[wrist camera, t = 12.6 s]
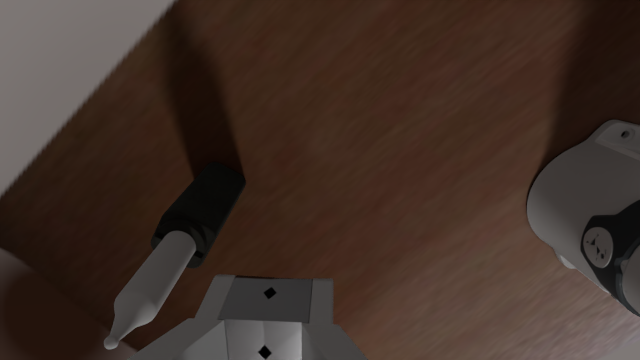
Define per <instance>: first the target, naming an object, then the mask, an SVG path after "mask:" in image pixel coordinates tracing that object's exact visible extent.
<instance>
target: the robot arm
mask: <svg viewBox="0 0 640 360" xmlns="http://www.w3.org/2000/svg"><path fill="white" fill-rule="evenodd" d="M624 131H625V134H624V135H623V136H621V134H622V133H623V132H624ZM527 216H528V220H529V223H530V226H531V228H532V229H533V231H534V232H535V234H536V235H537V236H538V237H539V238H540V239H541V240H543V241H544V242H546V243H547V244H548V245H550V246H551V247H552V248H553V249H554V251H555V253H556V255H557V257H558V259H559V260H560V262H561V263H562V264H564V265H565V266H566V267H568V268H577V269H578V270H579V271H580V272H581V273H583V274H584V275H585V276H586V277H588V278H589V279H590V280H591V281H593V282H594V283H595V284H596V285H598V286H599V287H600V288H601V289H603V290H604V291H605V292H607V293H610V294H611V296H612V297H613V298H614V299H615V300H616V301H617V302H619V303H620V304H621V305H623V306H625V307H626V308H627V309H628V310H629V311H631V312H632V313H634V314H635V315H637V316H639V317H640V125H637V124H633V123H629V122H624V121H620V120H609V121H607V122H605V123H604V124H603V125H601V126H600V127H599V128H598V129H597V130H596V131H595V132H594V133H593V134H592V135H591V136H590V137H589V138H588V139H587V140H585V141H584V142H582V143H580V144H579V145H577V146H575V147H573V148H571V149H569V150H567V151H565V152H563V153H562V154H560V155H559V156H558V157H556V158H555V159H554V160H552V161H551V162H550V163H549V164H548V165H547V166H546V167H545V168H544V169H543V170H542V172H541V173H540V174H539V176H538V177H537V179H536V180H535V182H534V184H533V186H532V188H531V190H530V193H529V196H528V201H527ZM127 360H368V359H367V358H366V357H365V355H364V354H363V353H362V352H361V351H360V349H359V348H358V347H357V346H356V345H355V344H354V342H353V341H352V340H351V339H350V338H349V336H348V335H347V334H346V333H345V332H344V330H343V329H342V328H341V327H340V326H339V325H333V279H317V278H313V279H294V278H274V277H258V276H242V275H237V276H236V275H220V274H218V275H216V276H215V277H214V279H213V281H212V283H211V285H210V287H209V289H208V291H207V293H206V295H205V297H204V299H203V301H202V303H201V306H200V308H199V310H198V312H197V314H196V316H195V318H194V319H187V320H185V321H184V322H182V323H181V324H179V325H178V326H176V327H175V328H173V329H172V330H170V331H169V332H167V333H166V334H164V335H163V336H161V337H160V338H158V339H157V340H155V341H154V342H152V343H151V344H149V345H148V346H146V347H145V348H143V349H142V350H140V351H139V352H137V353H136V354H134V355H133V356H131V357H130V358H128V359H127Z"/></svg>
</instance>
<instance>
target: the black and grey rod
mask: <svg viewBox="0 0 640 360" xmlns="http://www.w3.org/2000/svg"><path fill="white" fill-rule="evenodd" d="M245 184H246V182H245V179H244V177H243V176H242V175H240V174H239V173H237V172H235V171H233V170H231V169H229V168H227V167H226V166H224V165H222V164H220V163H217V162H212V163H209V164H208V165H207V166H206V167H205V168H204V170H203V171H202V172H201V173H200V174H199V175H198V176H197V177H196V178H195V180H194V181H193V182H192V183H191V184H190V185H189V186H188V187H187V189H186V190H185V191H184V192H183V193H182V194H181V195H180V196H179V197H178V199H177V200H176V201H175V202H174V203H173V204H172V205H171V206H170V207H169V209H168V210H167V211H166V212H165V213H164V214H163V216H162V218H161V220H160V222H159V224H158V226H157V228H156V230H155V233H154V235H153V237H152V239H151V246H152V248H153V250H154V251H153V252H152V253H151V255H150V256H149V257H148V258H147V260H146V261H145V262H144V263H143V265H142V266H141V267H140V268H139V270H138V271H137V272H136V274H135V275H134V276H133V277H132V279H131V280H130V281H129V282H128V284H127V285H126V286H125V287H124V289H123V290H122V291H121V292H120V294H119V295H118V296H117V298H116V300H115V303H114V309H115V319H114V323H113V326H112V329H111V333H110V336H108V337H107V338H106V339H105V340H104V346H105V348H107V349H113V348H116V347H117V346H118V343H119V340H120V339H122V338H123V337H124V336H125V335H127V334H128V333H129V332H131V331H132V330H133V329H134V328H136V327H138V326H141V325H144V324H147V323H149V322H150V321H152V320H153V319H154V317H155V316H156V314H157V313H158V311H159V309H160V308H161V306H162V305H163V303H164V301H165V300H166V298H167V296H168V295H169V293H170V291H171V290H172V288H173V287H174V285H175V283H176V282H177V280H178V278H179V277H180V275H181V274H182V272H183V270H184V269H185V267H188V268H197V267H199V266H200V265H201V264H202V263H203V261H204V260H205V258H206V256H207V254H208V252H209V251H210V249H211V247H212V245H213V243H214V242H215V240H216V238H217V236H218V234H219V232H220V231H221V229H222V227H223V225H224V223H225V222H226V220H227V218H228V216H229V214H230V213H231V211H232V209H233V207H234V205H235V203H236V202H237V200H238V198H239V196H240V194H241V193H242V191H243V189H244V187H245Z"/></svg>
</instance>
